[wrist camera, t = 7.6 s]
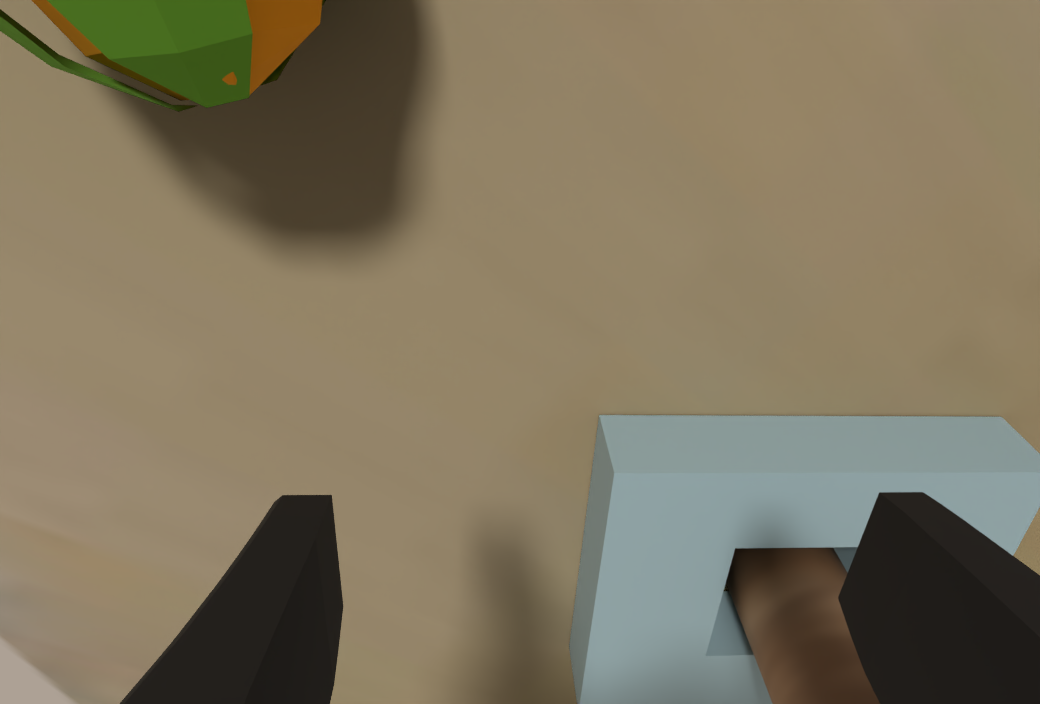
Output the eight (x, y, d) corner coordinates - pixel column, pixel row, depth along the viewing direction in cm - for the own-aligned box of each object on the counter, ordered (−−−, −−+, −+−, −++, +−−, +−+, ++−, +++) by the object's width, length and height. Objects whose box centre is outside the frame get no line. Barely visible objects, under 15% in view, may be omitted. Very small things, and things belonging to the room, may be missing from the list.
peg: (803, 484, 23) (922, 690, 17) (830, 553, 25) (947, 761, 19) (699, 525, 24) (779, 737, 18) (732, 589, 25) (816, 803, 19)
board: (1001, 416, 22) (1058, 472, 20) (896, 639, 27) (932, 702, 25) (599, 415, 21) (614, 473, 19) (569, 646, 26) (578, 712, 24)
